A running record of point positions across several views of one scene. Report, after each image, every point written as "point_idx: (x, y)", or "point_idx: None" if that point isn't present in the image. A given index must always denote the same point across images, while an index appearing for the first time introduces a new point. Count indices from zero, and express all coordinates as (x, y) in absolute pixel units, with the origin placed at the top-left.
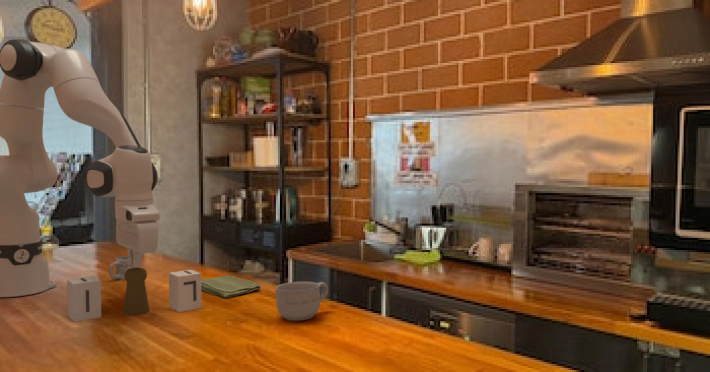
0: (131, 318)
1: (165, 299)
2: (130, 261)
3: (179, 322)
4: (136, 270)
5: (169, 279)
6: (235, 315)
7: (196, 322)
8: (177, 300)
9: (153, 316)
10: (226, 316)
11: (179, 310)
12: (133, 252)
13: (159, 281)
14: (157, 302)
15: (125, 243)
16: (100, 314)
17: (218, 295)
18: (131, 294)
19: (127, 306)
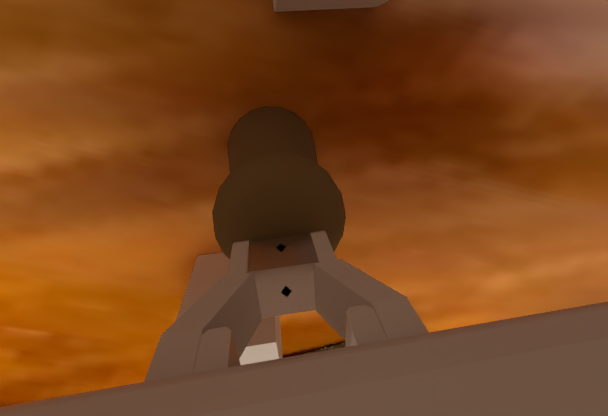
0: (192, 116)
1: (363, 252)
2: (327, 246)
3: (72, 236)
4: (233, 236)
5: (269, 317)
6: (97, 352)
7: (55, 272)
8: (198, 278)
9: (183, 186)
10: (95, 336)
11: (197, 260)
12: (210, 344)
13: (556, 274)
14: (345, 229)
15: (450, 394)
16: (274, 6)
17: (304, 353)
18: (239, 151)
19: (249, 122)
